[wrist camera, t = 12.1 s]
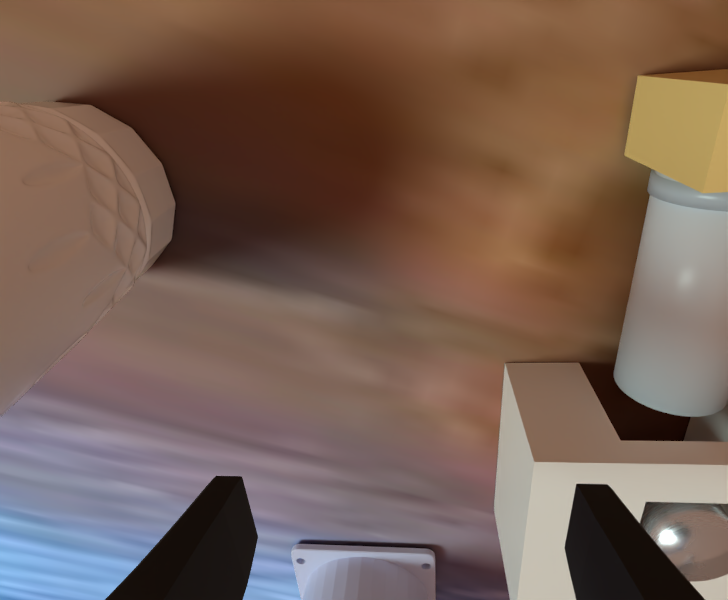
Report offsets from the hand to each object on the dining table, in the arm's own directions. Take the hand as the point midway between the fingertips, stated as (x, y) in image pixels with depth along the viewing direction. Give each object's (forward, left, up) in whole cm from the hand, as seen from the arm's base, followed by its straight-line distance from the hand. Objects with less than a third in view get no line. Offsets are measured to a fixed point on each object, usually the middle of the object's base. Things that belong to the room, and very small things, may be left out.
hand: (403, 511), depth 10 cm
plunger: (-6, -10, -6) cm, 13 cm away
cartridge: (+3, -10, -10) cm, 14 cm away
